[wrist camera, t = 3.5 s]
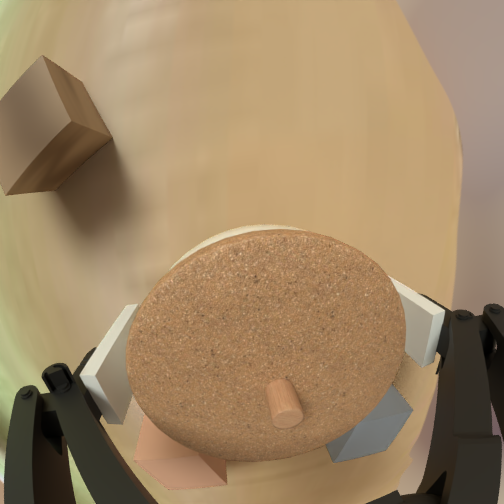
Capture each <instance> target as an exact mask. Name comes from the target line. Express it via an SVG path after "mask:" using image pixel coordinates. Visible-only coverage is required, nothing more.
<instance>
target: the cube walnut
mask: <svg viewBox="0 0 504 504" xmlns="http://www.w3.org/2000/svg"><path fill="white" fill-rule="evenodd" d="M112 138H113V137H112V135H111V134H110V132H109V130H108V129H107V127H106V125H105V123H104V122H103V120H102V118H101V116H100V114H99V113H98V111H97V109H96V107H95V105H94V104H93V102H92V100H91V98H90V96H89V94H88V92H87V91H86V89H85V87H84V85H83V83H82V82H81V81H80V80H78V79H77V78H75V77H74V76H73V75H71V74H70V73H68V72H67V71H65V70H64V69H62V68H61V67H60V66H58V65H57V64H55V63H54V62H52V61H51V60H49V59H48V58H46V57H45V56H43V55H42V56H40V57H39V58H38V59H37V60H36V61H35V62H34V63H33V64H32V65H31V66H30V67H29V68H28V69H27V70H26V72H25V73H24V74H23V75H22V76H21V77H20V78H19V79H18V80H17V81H16V82H15V84H14V85H13V86H12V87H11V88H10V89H9V91H8V92H7V93H6V94H5V95H4V97H3V98H2V99H1V100H0V183H1V186H2V189H3V191H4V194H5V196H7V195H15V194H24V193H34V192H45V191H56V190H57V188H58V187H59V186H60V185H61V184H62V183H63V182H64V181H65V180H66V179H67V178H68V177H69V176H70V175H71V174H72V173H74V172H75V171H76V170H77V169H78V168H79V167H80V166H81V165H82V164H83V163H84V162H85V161H86V160H88V159H89V158H90V157H91V156H92V155H93V154H94V153H95V152H97V151H98V150H99V149H100V148H101V147H102V146H104V145H105V144H106V143H107V142H108V141H110V140H111V139H112Z"/></svg>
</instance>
